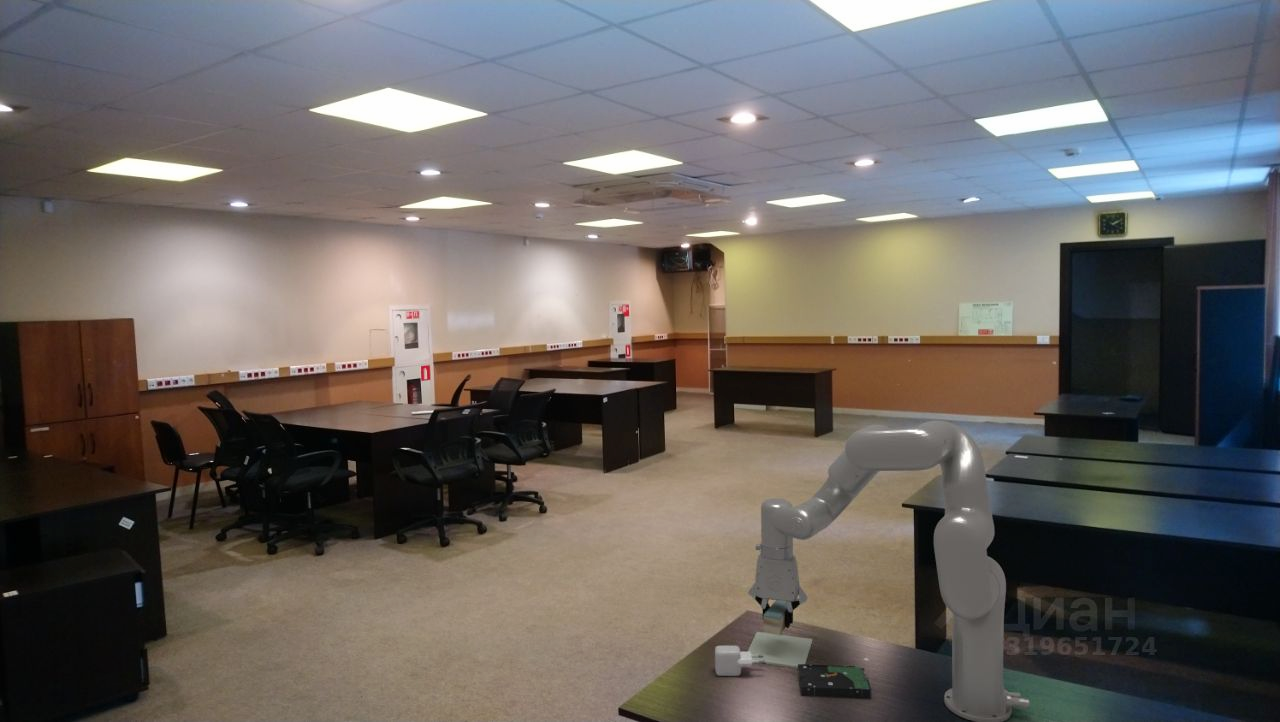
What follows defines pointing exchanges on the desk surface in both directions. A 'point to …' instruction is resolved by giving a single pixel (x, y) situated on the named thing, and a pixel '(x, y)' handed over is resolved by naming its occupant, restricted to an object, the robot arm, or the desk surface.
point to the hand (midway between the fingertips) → (777, 623)
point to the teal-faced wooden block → (775, 618)
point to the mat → (780, 649)
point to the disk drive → (833, 681)
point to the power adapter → (733, 660)
